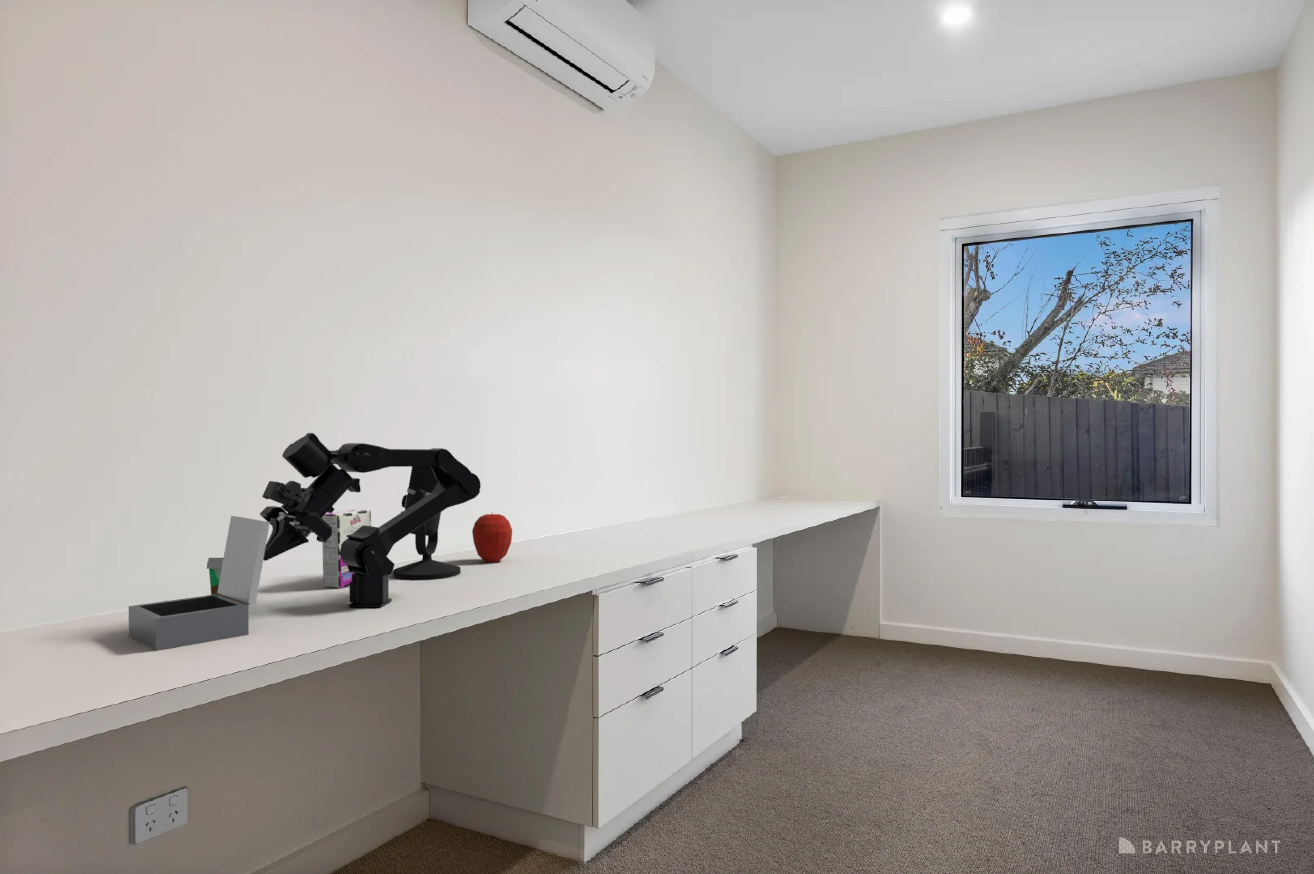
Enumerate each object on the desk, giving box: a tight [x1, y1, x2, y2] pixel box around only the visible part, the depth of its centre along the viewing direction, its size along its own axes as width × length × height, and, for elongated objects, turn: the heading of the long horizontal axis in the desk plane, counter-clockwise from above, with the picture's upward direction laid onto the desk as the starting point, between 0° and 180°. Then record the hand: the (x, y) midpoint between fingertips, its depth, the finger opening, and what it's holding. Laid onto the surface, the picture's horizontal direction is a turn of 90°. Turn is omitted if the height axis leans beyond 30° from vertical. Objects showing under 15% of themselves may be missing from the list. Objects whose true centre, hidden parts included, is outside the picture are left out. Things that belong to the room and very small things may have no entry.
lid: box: [217, 515, 271, 605], centre depth 146 cm, size 14×14×3 cm
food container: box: [206, 557, 251, 606], centre depth 165 cm, size 12×6×10 cm, turn 168°
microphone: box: [392, 466, 462, 581], centre depth 199 cm, size 16×16×30 cm
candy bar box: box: [321, 508, 372, 589], centre depth 186 cm, size 11×5×16 cm, turn 161°
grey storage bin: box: [128, 594, 250, 652], centre depth 139 cm, size 14×14×5 cm
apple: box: [471, 513, 513, 564], centre depth 218 cm, size 10×10×14 cm
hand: (262, 559), depth 148 cm, fingers closed
